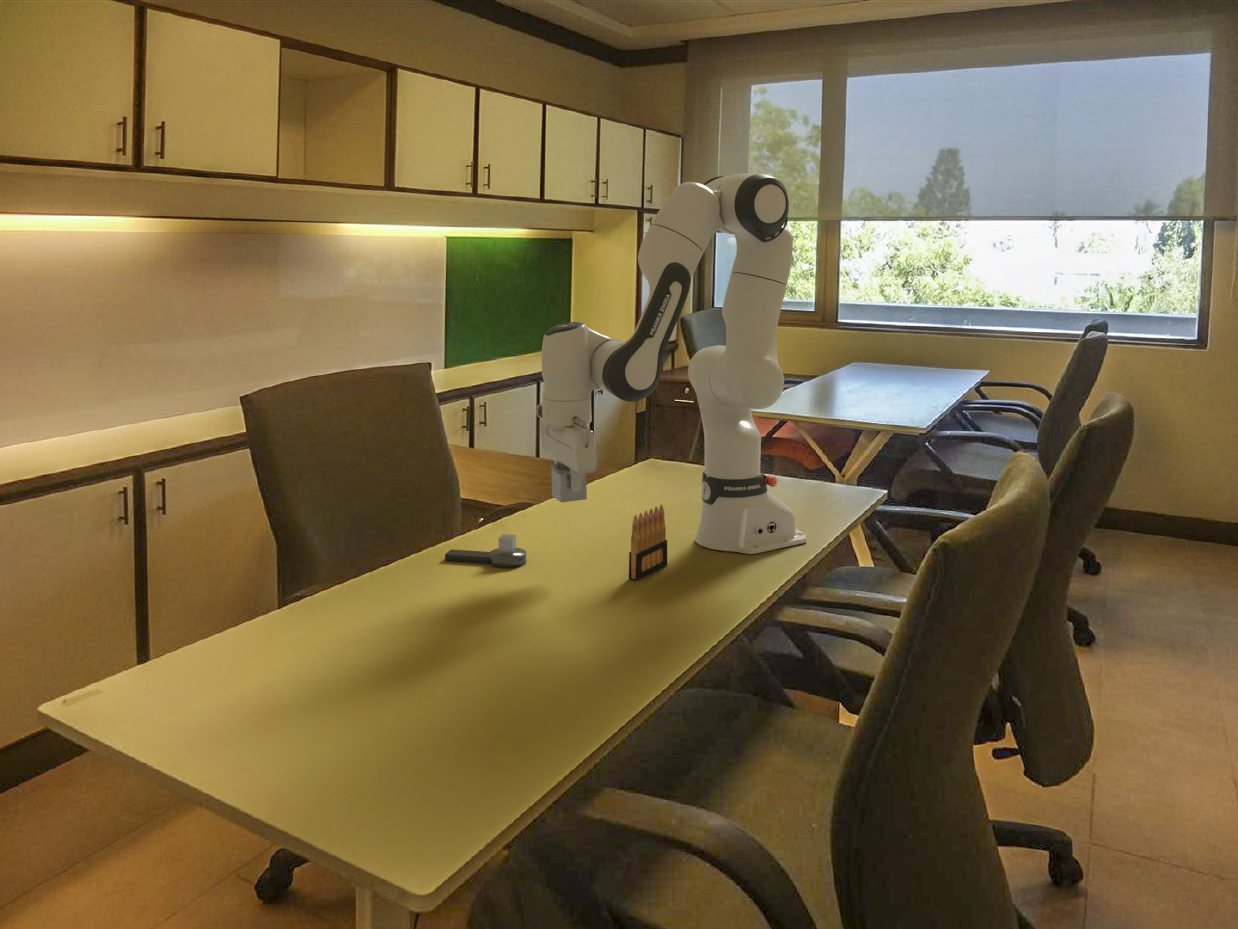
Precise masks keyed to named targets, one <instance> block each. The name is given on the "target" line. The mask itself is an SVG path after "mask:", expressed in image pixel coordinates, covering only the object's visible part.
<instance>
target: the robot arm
mask: <svg viewBox="0 0 1238 929" xmlns="http://www.w3.org/2000/svg"><path fill="white" fill-rule="evenodd" d="M789 200H790V199H789V194H788V192H787V190H786V187H785V185H784V184H783V183H782V182H781V181H780V180H779V179H777V178H776V177H774V176H772V175H769V174H766V173H765V174H764V173H755V174H754V173H747V172H746V173H745V172H743V173H739V172H738V173H734V174H731V175H726V176H724V175H723V176H722V175H720V176H716V177H712V178H710V179H709V180H706V181H705V182H703V183H700V182H697V181H696V182H695V181H685V182H683V183H682V182H681V183H680V184H679V185H677V187H675V189H673V191H672V192H671V193H670V195H668V197H667V198H666V200H665V201H664V202H663V204H662V206H661V207H660V208H659V210H658V211H657V213H656V215H655V216H654V218H653V220H652V222H651V223H650V225H649V228H648V230H647V231H646V233H645V235H644V237H643V239H642V242H641V243H640V248H639V250H638V255H637V262H638V266H639V269H640V272H641V273H642V275H643V276H644V278H645V279H646V281H647V284H648V286H649V288H648V289H649V293H648V294H649V295H648V298H647V302H646V303H645V306H644V308H643V309H642V310H643V311H642V313H641V315H640V317H639V320H638V322H637V324H636V326H635V329H634V331H633V332H632V335H631V336H630V337H629V338H628V339H627V340H626V341H624V340H620V339H616V338H613V337H609V336H607V335H605V334H601V333H599V332H597V331H595V330H593V329H592V328H590V327H588V326H587V325H586V324H585V323H584V322H581V321H571V322H563V323H559V324H556V325H553V326H551V327H550V328H548V329H547V330H546V331H545V333H544V335H543V339H542V347H541V375H542V379H543V384H544V385H543V392H542V402H541V403H540V404H538V405H537V406H536V415H537V417H538V418H540V419H539V433H540V440H541V442H540V443H541V447H542V450H543V453H545V455H548V456H550V457H551V458H553V461H554V464H564V465H565V466H567V467H568V468H570V473H571V481H569V488H570V490H572V491H573V492H576V491H580V490H581V481H582V477H583V474H584V473H586V474H587V473H588V474H589V473H595V471H596V469H597V452H596V450H597V449H596V441H595V435H594V432H593V430H592V429H590V428H588V425H589V424H591V423H592V419H593V418H592V392H593V391H594V390H601V391H603V392H605V393H609V394H611V395H613V396H614V397H616V398H618V399H619V400H621V401H624V402H629V403H630V402H631V403H635V402H639V401H641V400H644V399H646V398H647V397H649V396H650V395H651V394H652V393H653V392H654V391H655V389H656V388H657V386H658V384H659V382H660V380H661V375H662V368H663V360H664V355H665V352H666V349H667V347H668V344H669V342H670V339H671V337H672V334H673V332H674V330H675V327H676V325H677V323H678V322H679V318H680V315H681V313H682V311H683V309H684V305H685V304H686V300H687V298H688V295H689V292H690V289H691V288H690V287H691V284H692V283H691V282H692V279H693V276H694V274H695V271H696V269H697V267H698V265H699V262H700V260H701V259H702V256H703V255H704V253H705V251H706V249H707V247H708V246H709V243H710V240H711V239H712V238H713V236H714V235H715V234H716V233H718V234H719V233H720V234H728V235H734V237H735V238H734V239H735V244H736V252H735V253H736V254H735V257H734V261H733V265H732V268H731V272H730V276H729V280H728V284H727V287H726V291H725V295H724V300H723V303H722V308H721V316H722V318H723V321H724V323H725V324H724V325H725V333H726V335H725V336H726V337H725V339H726V343H725V345H723V344H719V345H712V346H707V347H704V348H701V349H699V350H698V351H696V352H695V353H694V354H693V356H692V357H691V359H690V361H689V364H688V369H687V375H688V380H689V382H690V384H691V386H692V387H693V390H694V391H695V395H696V398H697V403H698V407H699V411H700V417H701V421H702V427H703V434H704V435H703V437H704V471H703V472H702V473H701V474H702V477H701V501H702V506H701V515H700V520H699V523H698V525H699V526H698V529H697V532H696V535H695V539H694V540H695V543H696V544H698V545H700V546H702V547H705V548H707V549H710V550H716V551H722V552H723V551H724V552H734V553H736V552H737V553H742V554H747V555H756V554H759V553H760V554H761V553H765V552H768V551H774V550H777V549H782V548H786V547H787V548H788V547H791V546H797V545H800V544H804V543H806V542H807V535H806V534H805V533H804V532H803V531H801V530H800V529H798V528H797V527H796V522H795V516H794V513H793V511H792V508H790V507H789V506H788V505H787V504H785V502H783V501H782V500H780V499H779V498H778V497H776V496H775V495H774V494H773V493H771V492H770V491H768V487H767V486H769V487H771V488H774V487H776V486H777V485H778V482H779V481H778V479H777V477H776V476H772V475H766V474H764V473H762V472H761V448H762V446H761V445H762V443H761V442H762V437H761V434H760V431H759V429H758V428H759V427H757V425H756V423H755V420H754V418H753V415H752V410H763V409H767V408H768V409H769V408H770V407H771V406H773V405H774V404H775V403H777V401H779V399H780V398H781V395H782V394H783V391H784V387H785V377H784V373H783V370H782V369H781V367H780V364H779V358H778V341H777V340H778V328H779V327H778V325H779V320H780V315H781V311H782V307H783V302H784V298H785V294H786V290H787V286H788V281H789V277H790V273H791V267H792V258H793V248H794V238H793V235H792V233H791V231H790V230H789V229H788V228H787V227H786V226H787V225H788V222H789V219H788V215H789V207H790V206H789V205H790V203H789Z"/></svg>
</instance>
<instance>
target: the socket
mask: <svg viewBox="0 0 1238 929" xmlns="http://www.w3.org/2000/svg"><path fill="white" fill-rule="evenodd" d="M550 467H551V468H550V469H551V474H550V476H551V496H552V497H553V498H554V499H556V500H557V501H558V502H560V503H569V502H576V501H583V500H584V501H586V500H588V498H587V497H588V495H587V494H588V493H587V473H584V474H583V477H582V481H581V490H580V491H576V492H573V491H572V490H570V488H569V481H571V473H570V468H568V467H567V466H565V465H564V464H555V463H554V464H551V465H550Z"/></svg>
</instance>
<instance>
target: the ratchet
mask: <svg viewBox="0 0 1238 929" xmlns="http://www.w3.org/2000/svg"><path fill="white" fill-rule="evenodd" d="M444 561H445V562H450V563H465V564H479V565H489V566H491V567H492V568H496V569H503V570H505V569H509V570H510V569H516V568H520V567H523V566H525V565H526V564H527V551H526V550H525V549H523V548H521V547H520V548H519V547H517V535H516V534H502V535H500V536H499V537H498V548H495V549H492V550H490V551H483V550H482V551H480V550H479V551H478V550H467V549H466V550H465V549H449V550H448V551H447V552H446V553H444Z"/></svg>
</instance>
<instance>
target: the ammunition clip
mask: <svg viewBox="0 0 1238 929" xmlns="http://www.w3.org/2000/svg"><path fill="white" fill-rule="evenodd" d="M648 511H649V512H648ZM648 511H647V510H645V511H644V514H643V513H642V512H640V513H639V515H638V516H637V515H634V516H633V518H632V519H633V520H632V524H631V525H632V526H631V527H632V529H631V537H630V551H629V552H628V555H629V556H628V557H629V558H628V579H629V580H632V581H637V582H638V581H640V580H642V579H644V578H646V577H648V576H650V575H651V574H654V573H656V572H658V571H659V570H660V571H661V570H662V569H664V568H666V567H668V540H667V539H666V536H667V535H666V523H665V522H666V521H665V510H664V506H663V504H660V505H659V508H658V506H655V507H654V508H653V509H652V508H650V509H649V510H648Z"/></svg>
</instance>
